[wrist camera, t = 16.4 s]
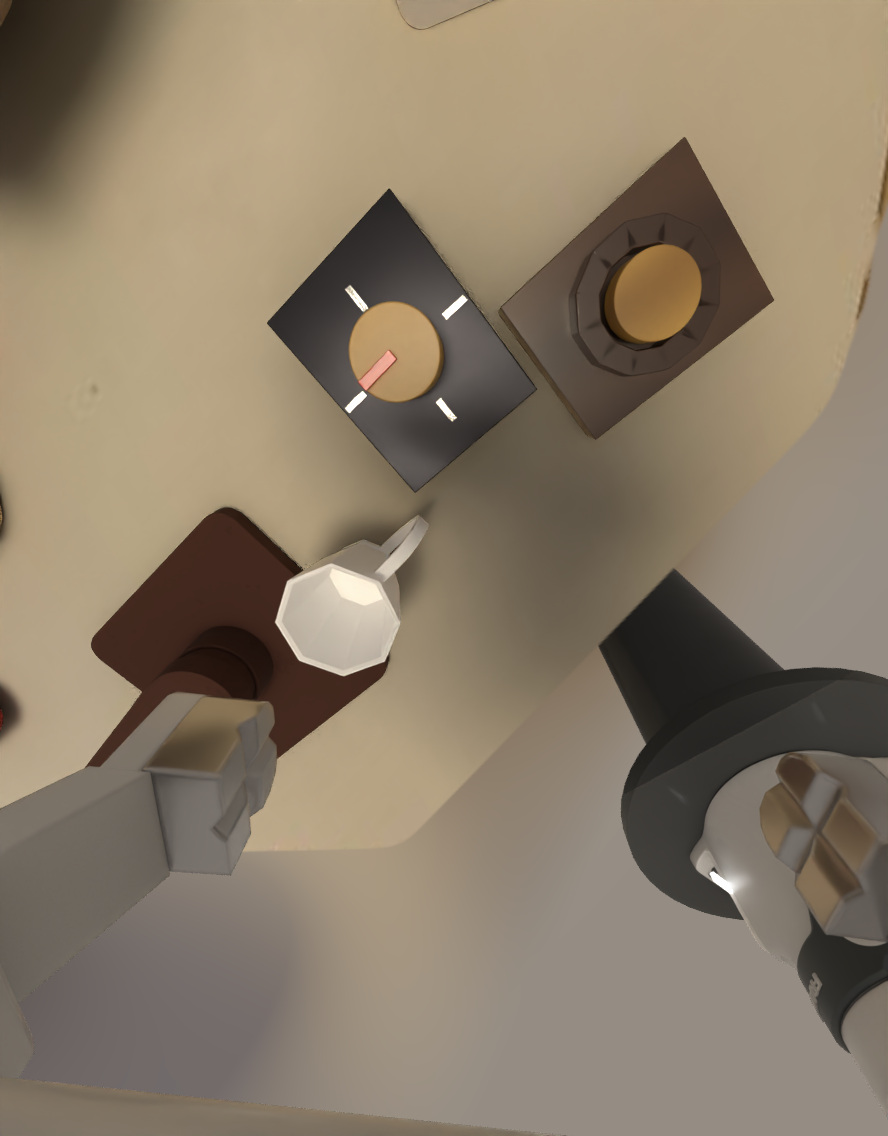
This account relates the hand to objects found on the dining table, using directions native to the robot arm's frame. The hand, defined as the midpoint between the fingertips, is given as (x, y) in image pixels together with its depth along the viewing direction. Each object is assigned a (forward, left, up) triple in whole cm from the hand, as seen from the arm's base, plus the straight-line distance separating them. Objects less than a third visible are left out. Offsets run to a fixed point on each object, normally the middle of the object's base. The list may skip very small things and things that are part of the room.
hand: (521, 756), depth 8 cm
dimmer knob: (+8, -1, -22) cm, 23 cm away
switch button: (+2, -12, -22) cm, 25 cm away
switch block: (+2, -12, -25) cm, 28 cm away
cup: (0, +9, -25) cm, 27 cm away
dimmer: (+8, -1, -25) cm, 26 cm away
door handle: (+1, +24, -25) cm, 35 cm away
